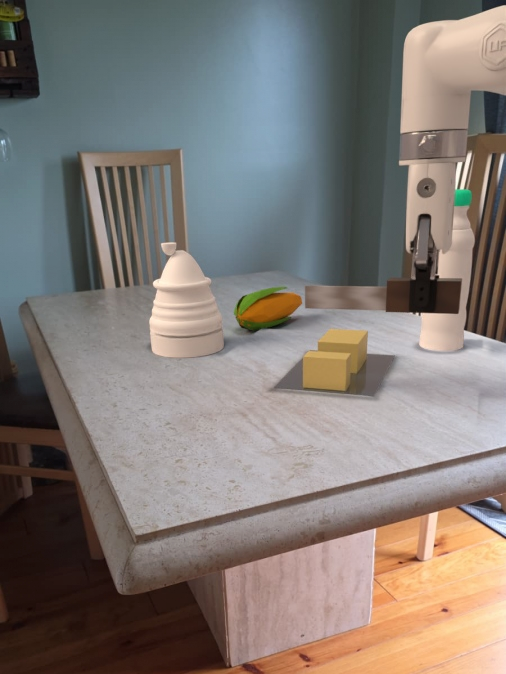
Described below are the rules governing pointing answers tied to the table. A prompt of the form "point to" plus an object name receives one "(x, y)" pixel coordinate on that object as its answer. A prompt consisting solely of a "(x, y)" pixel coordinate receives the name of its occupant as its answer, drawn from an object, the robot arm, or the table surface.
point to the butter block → (346, 345)
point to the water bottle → (456, 263)
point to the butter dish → (360, 383)
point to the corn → (266, 308)
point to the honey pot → (184, 310)
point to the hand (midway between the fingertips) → (423, 308)
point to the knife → (383, 296)
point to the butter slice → (326, 370)
